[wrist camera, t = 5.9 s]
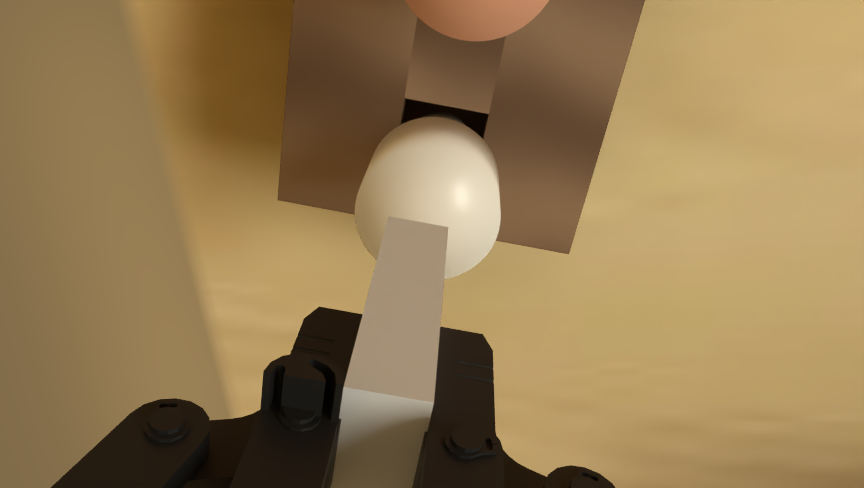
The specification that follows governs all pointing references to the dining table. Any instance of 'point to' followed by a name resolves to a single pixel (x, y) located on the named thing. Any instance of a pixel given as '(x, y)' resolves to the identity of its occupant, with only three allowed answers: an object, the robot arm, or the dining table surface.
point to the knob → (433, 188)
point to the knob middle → (476, 16)
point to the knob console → (456, 102)
